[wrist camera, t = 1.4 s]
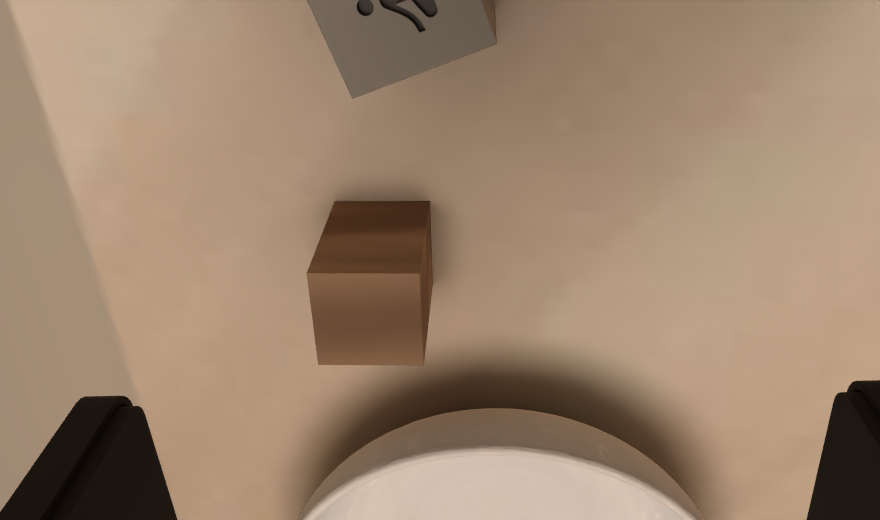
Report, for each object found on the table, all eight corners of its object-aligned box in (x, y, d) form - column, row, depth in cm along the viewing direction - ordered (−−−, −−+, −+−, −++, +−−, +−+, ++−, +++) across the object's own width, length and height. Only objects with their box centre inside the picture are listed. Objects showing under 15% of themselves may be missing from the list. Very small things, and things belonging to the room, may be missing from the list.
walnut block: (334, 201, 33) (306, 273, 28) (429, 201, 33) (419, 273, 28) (343, 283, 35) (318, 364, 30) (432, 283, 35) (423, 365, 30)
